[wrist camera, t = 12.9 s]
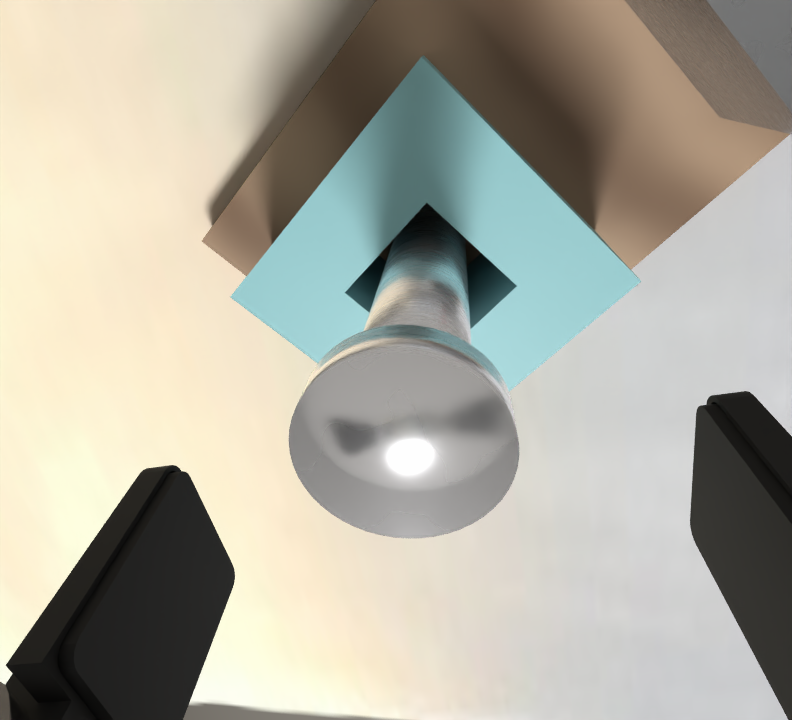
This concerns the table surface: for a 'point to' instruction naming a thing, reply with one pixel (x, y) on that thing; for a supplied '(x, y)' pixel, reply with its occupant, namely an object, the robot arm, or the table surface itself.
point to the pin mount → (730, 54)
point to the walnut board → (517, 117)
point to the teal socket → (461, 207)
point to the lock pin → (409, 402)
